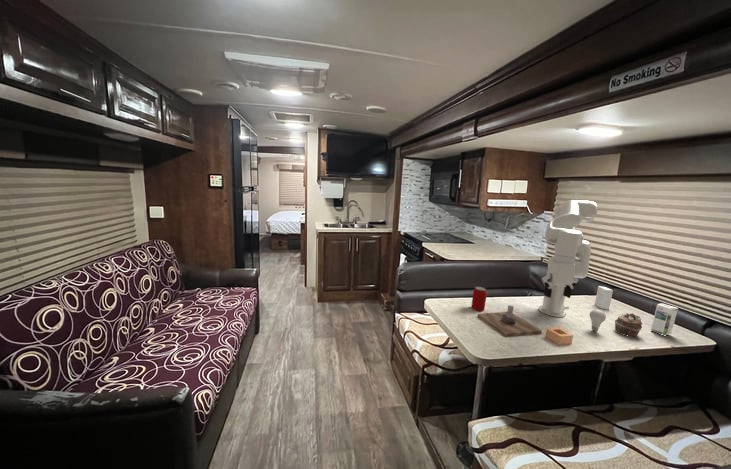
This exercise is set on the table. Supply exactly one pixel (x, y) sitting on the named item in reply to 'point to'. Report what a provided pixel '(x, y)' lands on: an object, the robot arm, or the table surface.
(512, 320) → the post stand
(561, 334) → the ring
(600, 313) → the lightbulb
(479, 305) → the beverage can
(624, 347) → the table surface
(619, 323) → the cupcake
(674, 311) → the syrup box
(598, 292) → the skincare box
